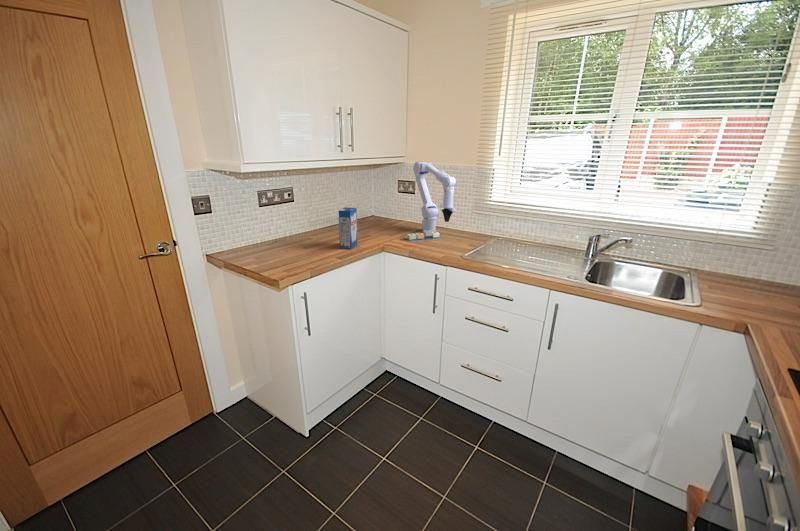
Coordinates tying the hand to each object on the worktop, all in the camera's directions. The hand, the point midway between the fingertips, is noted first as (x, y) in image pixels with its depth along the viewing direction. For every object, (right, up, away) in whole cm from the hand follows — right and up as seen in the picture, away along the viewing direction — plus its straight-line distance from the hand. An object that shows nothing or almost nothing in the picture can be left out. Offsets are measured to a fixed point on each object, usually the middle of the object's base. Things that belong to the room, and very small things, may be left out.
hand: (446, 221), depth 202 cm
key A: (-7, -9, -1) cm, 12 cm away
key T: (-16, -10, -5) cm, 20 cm away
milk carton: (-55, -16, -19) cm, 60 cm away
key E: (-21, -10, -7) cm, 24 cm away
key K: (-12, -8, -3) cm, 15 cm away
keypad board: (-14, -11, -3) cm, 18 cm away
